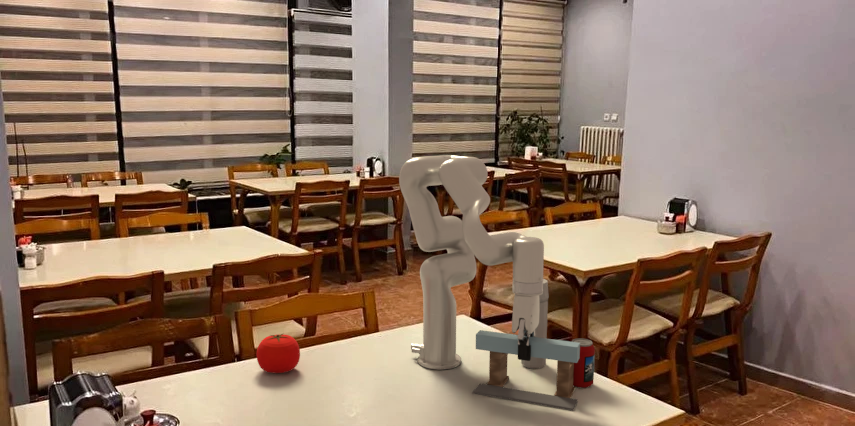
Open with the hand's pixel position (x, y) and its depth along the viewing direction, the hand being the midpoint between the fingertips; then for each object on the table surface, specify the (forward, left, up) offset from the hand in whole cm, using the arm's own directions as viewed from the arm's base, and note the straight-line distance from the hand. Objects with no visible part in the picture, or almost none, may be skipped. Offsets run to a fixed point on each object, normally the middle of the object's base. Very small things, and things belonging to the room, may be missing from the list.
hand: (526, 356), depth 174 cm
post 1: (-9, +7, -11) cm, 16 cm away
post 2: (+9, +7, -11) cm, 16 cm away
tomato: (-68, -10, -11) cm, 70 cm away
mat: (0, 0, -11) cm, 11 cm away
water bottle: (-4, +23, -11) cm, 26 cm away
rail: (0, 0, +1) cm, 1 cm away
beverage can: (+12, +14, -11) cm, 21 cm away
